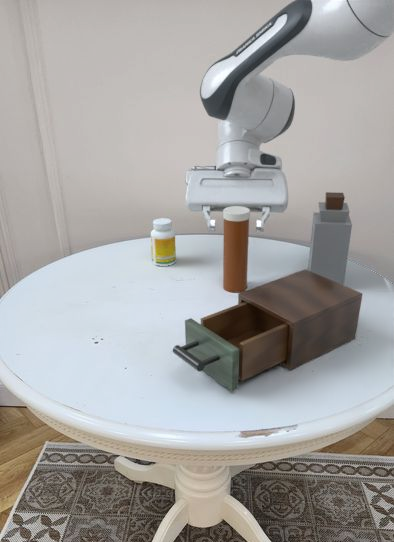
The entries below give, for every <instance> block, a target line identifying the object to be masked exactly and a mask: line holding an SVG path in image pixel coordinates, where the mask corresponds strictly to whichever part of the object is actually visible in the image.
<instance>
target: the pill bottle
mask: <svg viewBox="0 0 394 542" xmlns="http://www.w3.org/2000/svg"><path fill="white" fill-rule="evenodd" d="M250 215H251V212H250V209H249V208H246V207H242V206H231V207H227V208H225V209H224V210H223V212H222V218H223V251H222V252H223V253H222V255H223V256H222V257H223V259H222V260H223V261H222V262H223V263H222V264H223V266H222V289H223V290H225V291H226V292H229V293H241V292H244V291H246V290H247V287H248V264H249V263H248V262H249V234H250V233H249V232H250V219H251V218H250V217H251V216H250Z"/></svg>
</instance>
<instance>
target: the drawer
mask: <svg viewBox="0 0 394 542" xmlns="http://www.w3.org/2000/svg"><path fill="white" fill-rule="evenodd" d="M289 331H290V325H288V324H286V323H285V322H283V321H281V320H279V319H277V318H275V317H273V316H272V315H270V314H268V313H266V312H264V311H262V310H260V309H259V308H257V307H255V306H253V305H251V304H249V303H247V302H243V303H240V304H238V303H237V304H235V305H233V306H229V307H228V308H225V309H222V310H219V311H216V312H214V313H211V314H209V315H206V316H203V317H200V322H198V321H196V320H195V319H194V318H192V317H191V318H188V319H185V320H184V333H185V335H184V337H185V345H182V346H181V345H180V344H176V345H174V346H173V348H172V353H173V354H174V355H176V356H177V357H178V358H180V359H181V360H182V361H184V362H185V363H186V364H187V365H189V366H190V367H192V368H193V369H194V370H196V371H197V372H202V371H204V372H205V373H207V374H208V375H209V376H210V377H211V378H213V379H215V380H216V381H217V382H218V383H220V384H222V385H223V386H224V387H226V388H227V389H228V390H230V391H231V392H233V391H235V390H237V389H239V380H240V381H241V382H243V381H245V380H247V379H249V378H252V377H253V376H256V375H259V374H260V373H262V372H264V371H266V370H269V369H271V368H272V367H274V366H277V365H279V363H281V362H283V361H285V360H287V354H288V343H289Z"/></svg>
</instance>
